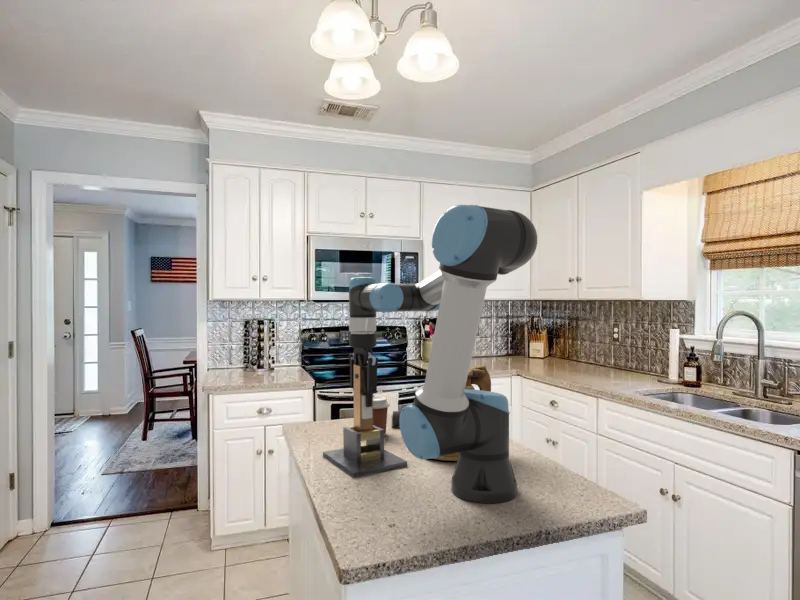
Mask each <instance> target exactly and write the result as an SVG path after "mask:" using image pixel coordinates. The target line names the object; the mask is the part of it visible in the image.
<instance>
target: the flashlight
mask: <svg viewBox="0 0 800 600" xmlns="http://www.w3.org/2000/svg"><path fill="white" fill-rule="evenodd" d="M401 411H402V410H401ZM401 411H400V410H398V411H397V410H396V411H395V410H394V411H393V410H392V411H391V427H392V428H400V422H399V420H400V413H401Z"/></svg>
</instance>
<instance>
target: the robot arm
mask: <svg viewBox="0 0 800 600" xmlns="http://www.w3.org/2000/svg"><path fill="white" fill-rule="evenodd" d="M536 229H537V228H536V227H535V225H534V223H533V222H532V220H531V219H529V217H527V216H526V215H525V214H523V213H521V212H519V211H516V210H511V209H503V208H502V209H501V208H494V207H489V206H488V207H487V206H480V205H477V204H456V205H454V206H451V207H449V208H448V209H447V210H446V211H445V212H443V213H442V214H441V215H440V217H439V218H438V219H437V221H436V224H435V226H434V229H433V231H432V234H431V235H432V236H431V248H432V249H433V250H432V255H433V257H434V258H435V260H436V261H437V262H438V263H439V264H438V265H439V266H438V271H436V272H435V273H433V274H432V275H430V276H428V277H426V278H425V279H423V280H421V281H419V282H418V283H394V282H379V283H377V281H376V278H375V277H374V276H373V277H371V276H366V277H365V276H360V277H359V276H358V277H356V276H355V277H351V278H350V280H349V287H348V294H349V295H348V302H349V303H348V305H349V306H348V307H349V308H348V310H349V311H348V313H349V317H348V318H349V319H348V332H350V333H349V335H348V337H349V339H348V341H349V343H348V344H349V347H350V348H353V352H352V353H349V354H348V358H349V378H350V380H349V383H350V387H349V388H351V389H352V391H353V392H354V365H359V366H361V370H362V371H363V391H364V393H362V394H361V395H362V419H369V418H372V395H373V396H374V394H377V392H378V364H379V358H378V357H375V356H374V354H373V348H375V347H377V334H376V332H377V323H378V321H377V313H381V314H382V313H383V314H384V313H388V314H389V313H393V312H395V313H397V312H400V313H402V312H404V313H405V312H426V313H428V312H433V311H434V312H435V311H437V310H438V312H437V318H436V323H435V329H434V333H433V338H432V343H431V348H430V353H429V354H430V355H429V359H428V365H427V369H426V370H427V373H426V375H425V378H424V380H425V381H424V384H423V385H422V386H421V385H420V386H419V387H418V388H417V389H416V390H415V396H414V400H413V403H408V404H407V405H405V406H404V407H402V408H401V413H400V420H399V422H400V427H399V430H400V434H401V437H402V440H403V442H404V445H405V447H406V448H407V450H408V451H409V453H411V455H412V456H413V457H415V458H416V459H420V460H429V459H435V460H437V459H436V458H438V457H440V456H445V455H449V454H454V453H458V452H459V456H458V460H457V461H456V463H455V468H454V472H453V474H452V477H451V480H450V481H451V482H450V483H451V488H450V489H451V492H452V493H453V494H454V495H455V496H456V497H458V498H460V499H463V500H465V501H468V502H475V503H481V504H497V503H505V502H508V501H510V500H513V499H515V497H516V496H517V495H518V482H517V478H516V477H515V473H514V470H513V466H512V464H511V460H510V414H511V413H510V410H509V400H508V398H507V396H506V395H504V394H502V393H499V392H496V391H495V392H494V391H491V392H490V391H483V390H480V389H475V390H472V389H465V386H466V381H467V377H468V372H469V368H471V362H472V358H473V352H474V349H475V348H474V347H475V345H476V344H475V343H476V338H477V334H478V330H479V324H480V320H481V317H482V312H483V307H484V301H485V298H486V294H487V293H486V292H487V287H488V286H491V284H493V283H494V282H496V281H497V279H498V275H499V276H501V275H502V276H504V275H507V274H510V273H511V272H514V271H516V270H518V269H519V268H522V267H523V266H524V265H526V263H528V262H529V261H530V260H531V259H532V258H533V256H534V254H535V252H536V251H537V247H538V234H537V230H536ZM363 366H367V367H363Z"/></svg>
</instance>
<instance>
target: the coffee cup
mask: <svg viewBox="0 0 800 600" xmlns="http://www.w3.org/2000/svg"><path fill="white" fill-rule="evenodd" d="M390 406H391V405H390V402H389V401H388V400H387V398H386V397H385V396H373V425H375V426H377V427H379V428H381V429H384V435H385V436H386V435H387V423H388V422H387V421H388V409H389V407H390Z"/></svg>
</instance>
